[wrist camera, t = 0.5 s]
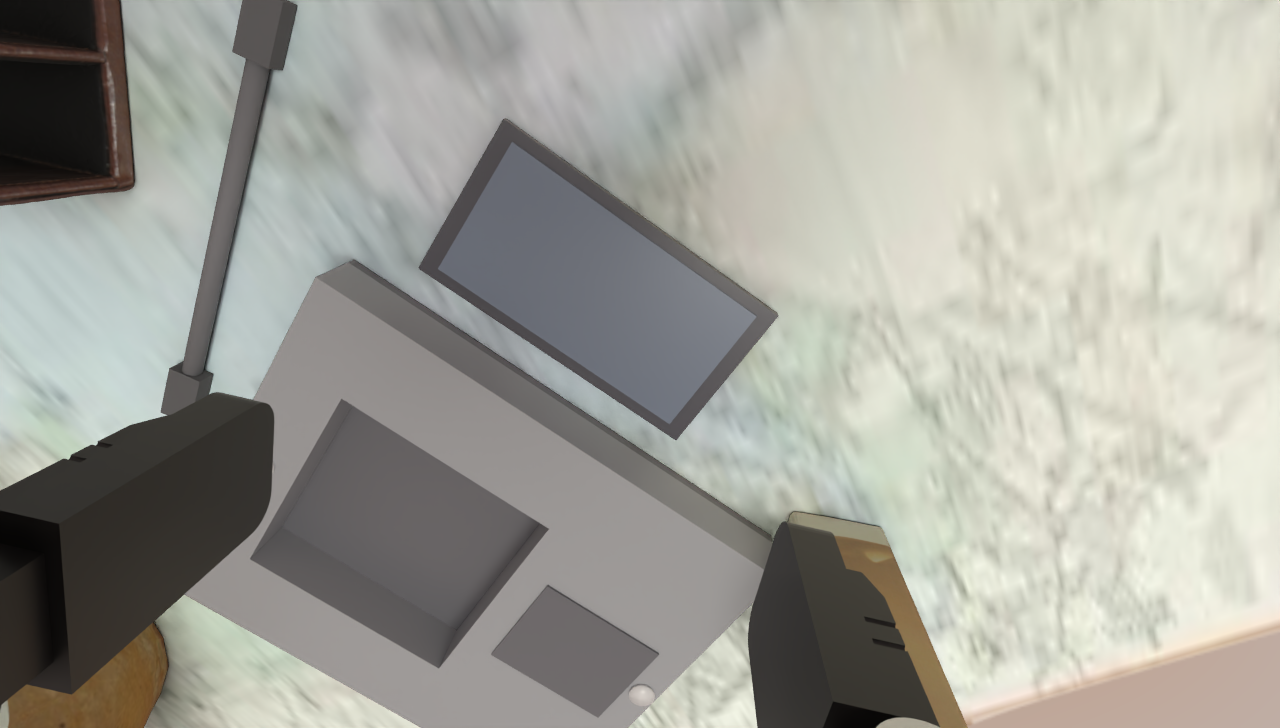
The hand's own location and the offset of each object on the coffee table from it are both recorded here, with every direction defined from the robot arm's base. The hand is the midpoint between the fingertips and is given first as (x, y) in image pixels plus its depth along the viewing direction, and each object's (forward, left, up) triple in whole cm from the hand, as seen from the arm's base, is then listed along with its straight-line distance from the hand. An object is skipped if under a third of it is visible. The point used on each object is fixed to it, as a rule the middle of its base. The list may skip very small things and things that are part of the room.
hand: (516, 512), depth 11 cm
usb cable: (+9, -14, -18) cm, 25 cm away
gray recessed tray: (+16, +2, -18) cm, 24 cm away
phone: (+2, 0, -19) cm, 19 cm away
